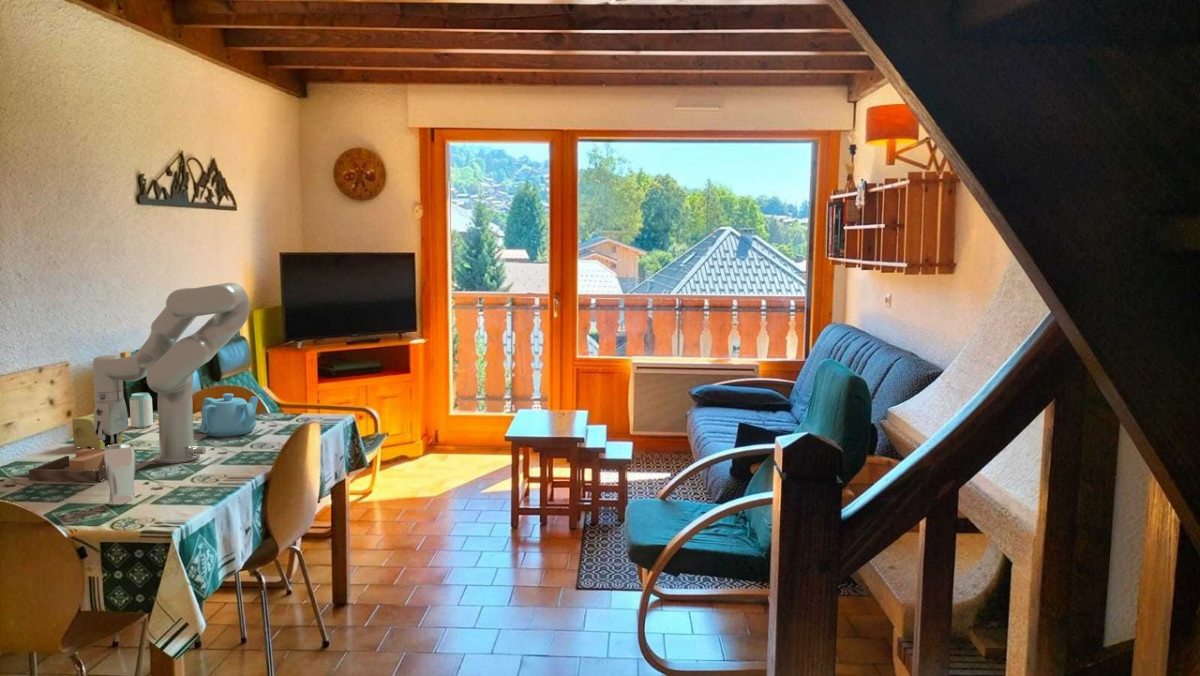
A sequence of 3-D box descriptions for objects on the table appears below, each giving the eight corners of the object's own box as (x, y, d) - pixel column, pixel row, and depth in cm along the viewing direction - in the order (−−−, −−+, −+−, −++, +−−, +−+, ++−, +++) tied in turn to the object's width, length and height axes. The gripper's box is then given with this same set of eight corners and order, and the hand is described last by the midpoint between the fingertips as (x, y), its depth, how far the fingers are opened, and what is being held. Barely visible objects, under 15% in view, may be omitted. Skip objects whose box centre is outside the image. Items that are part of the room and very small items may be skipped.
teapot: (253, 436, 286) (252, 397, 284) (193, 440, 280) (191, 399, 279) (259, 425, 304) (258, 388, 302) (202, 428, 298) (201, 390, 297)
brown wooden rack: (132, 467, 246) (131, 457, 245) (99, 482, 230) (98, 471, 230) (66, 465, 246) (65, 455, 246) (29, 480, 231) (28, 470, 230)
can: (131, 425, 300) (130, 392, 299) (153, 423, 303) (152, 391, 302) (130, 429, 294) (128, 396, 292) (152, 427, 297) (150, 394, 295)
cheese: (100, 450, 264) (98, 420, 263) (71, 448, 267) (69, 418, 265) (124, 442, 275) (123, 413, 273) (97, 440, 277) (95, 411, 276)
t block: (129, 463, 250) (128, 450, 249) (100, 475, 237) (99, 461, 237) (85, 461, 251) (84, 448, 251) (54, 473, 238) (53, 459, 238)
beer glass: (143, 498, 216) (140, 442, 215) (128, 507, 210) (125, 449, 208) (116, 498, 216) (113, 442, 214) (100, 507, 209) (97, 449, 208)
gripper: (105, 401, 243) (108, 462, 245) (136, 392, 257) (138, 449, 259) (80, 400, 243) (83, 461, 245) (112, 391, 258) (115, 448, 260)
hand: (111, 455), depth 252 cm, fingers closed
